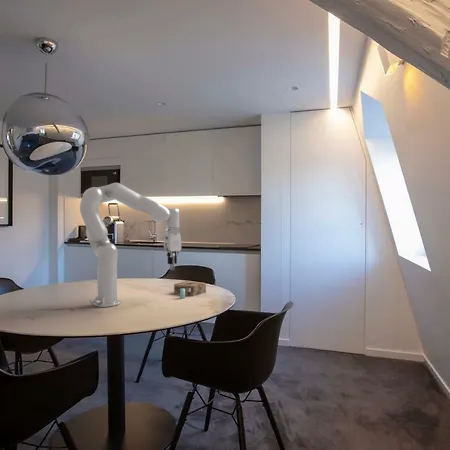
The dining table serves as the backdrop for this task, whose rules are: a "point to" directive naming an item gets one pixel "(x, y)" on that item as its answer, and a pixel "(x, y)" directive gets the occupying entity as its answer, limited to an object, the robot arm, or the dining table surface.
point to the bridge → (195, 287)
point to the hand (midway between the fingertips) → (172, 263)
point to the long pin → (172, 266)
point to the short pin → (182, 293)
